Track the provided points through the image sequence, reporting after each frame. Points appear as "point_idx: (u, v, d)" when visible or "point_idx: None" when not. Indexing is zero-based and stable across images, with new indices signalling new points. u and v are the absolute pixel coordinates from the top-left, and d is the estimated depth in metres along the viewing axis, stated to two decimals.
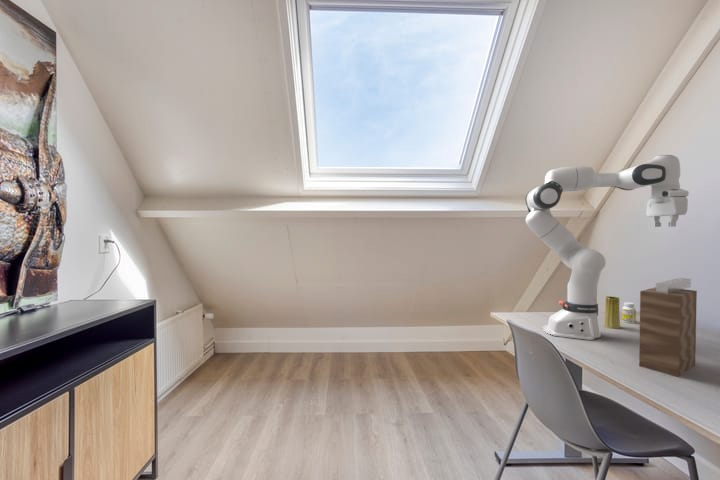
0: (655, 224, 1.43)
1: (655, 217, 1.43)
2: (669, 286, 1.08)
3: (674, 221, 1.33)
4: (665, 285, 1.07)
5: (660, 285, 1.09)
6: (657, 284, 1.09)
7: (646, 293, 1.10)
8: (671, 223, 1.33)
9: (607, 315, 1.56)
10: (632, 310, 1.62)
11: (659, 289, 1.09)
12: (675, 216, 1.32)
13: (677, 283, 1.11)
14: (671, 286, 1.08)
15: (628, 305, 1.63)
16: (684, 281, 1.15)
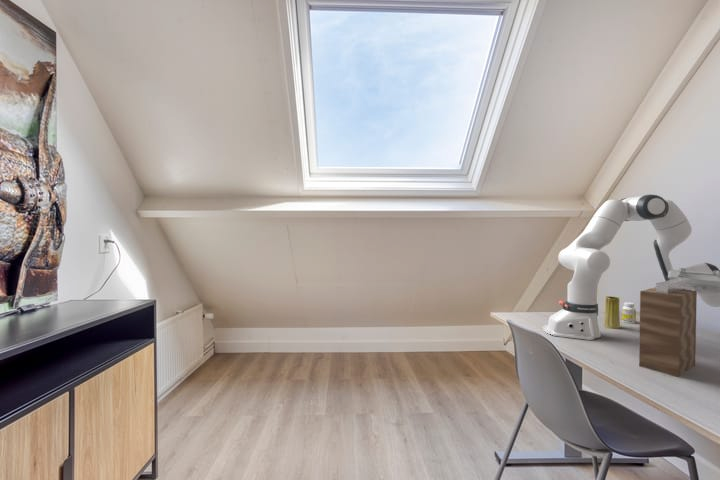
0: None
1: None
2: (669, 286, 1.08)
3: None
4: (665, 285, 1.07)
5: (660, 285, 1.09)
6: (657, 284, 1.09)
7: (646, 293, 1.10)
8: (719, 272, 1.23)
9: (607, 315, 1.56)
10: (632, 310, 1.62)
11: (659, 289, 1.09)
12: None
13: (677, 283, 1.11)
14: (671, 286, 1.08)
15: (628, 305, 1.63)
16: (684, 281, 1.15)
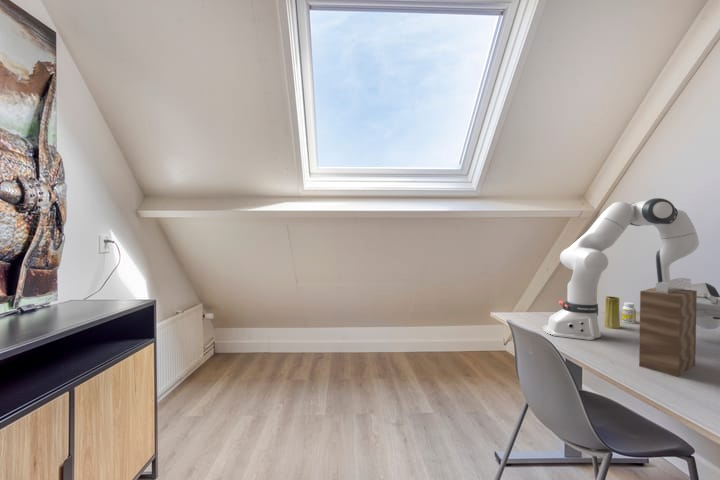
0: None
1: None
2: (669, 286, 1.08)
3: (711, 298, 1.18)
4: (665, 285, 1.07)
5: (660, 285, 1.09)
6: (657, 284, 1.09)
7: (646, 293, 1.10)
8: (710, 295, 1.18)
9: (607, 315, 1.56)
10: (632, 310, 1.62)
11: (659, 289, 1.09)
12: (716, 300, 1.18)
13: (677, 283, 1.11)
14: (671, 286, 1.08)
15: (628, 305, 1.63)
16: (684, 281, 1.15)
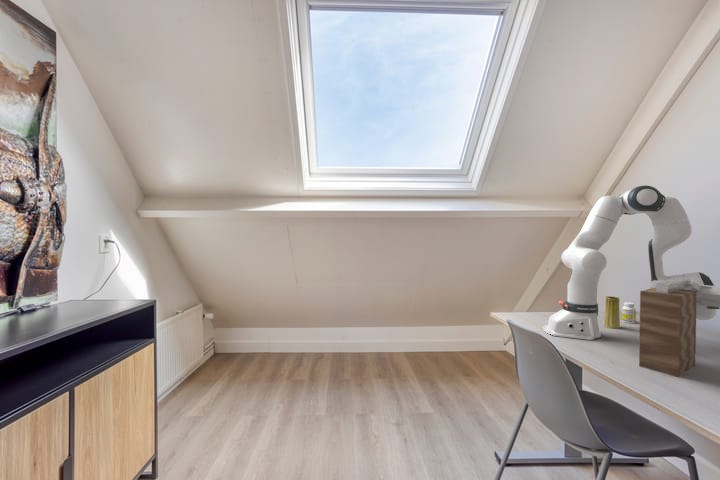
0: None
1: None
2: (669, 286, 1.08)
3: (695, 286, 1.16)
4: (665, 285, 1.07)
5: (660, 285, 1.09)
6: (657, 284, 1.09)
7: (646, 293, 1.10)
8: (693, 282, 1.16)
9: (607, 315, 1.56)
10: (632, 310, 1.62)
11: (659, 289, 1.09)
12: (700, 288, 1.16)
13: (677, 283, 1.11)
14: (671, 286, 1.08)
15: (628, 305, 1.63)
16: (684, 281, 1.15)
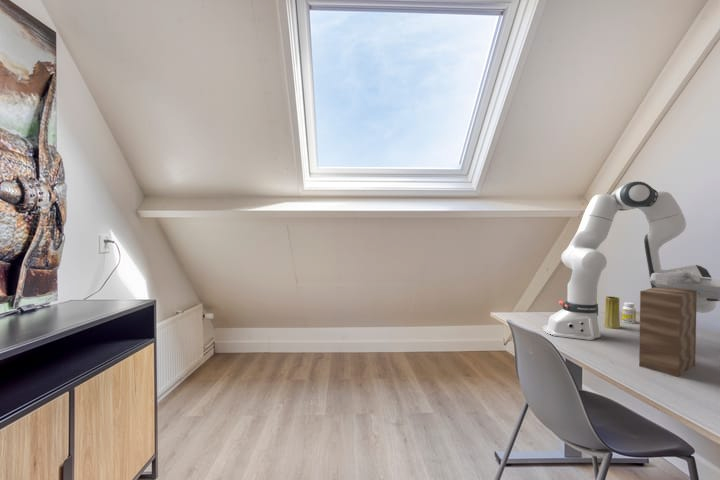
0: None
1: None
2: (669, 278, 1.08)
3: (694, 277, 1.15)
4: (665, 276, 1.07)
5: (660, 276, 1.08)
6: (657, 275, 1.09)
7: (646, 293, 1.10)
8: (693, 274, 1.15)
9: (607, 315, 1.56)
10: (632, 310, 1.62)
11: (658, 280, 1.08)
12: (699, 280, 1.16)
13: (677, 275, 1.11)
14: (670, 277, 1.08)
15: (628, 305, 1.63)
16: (684, 273, 1.15)
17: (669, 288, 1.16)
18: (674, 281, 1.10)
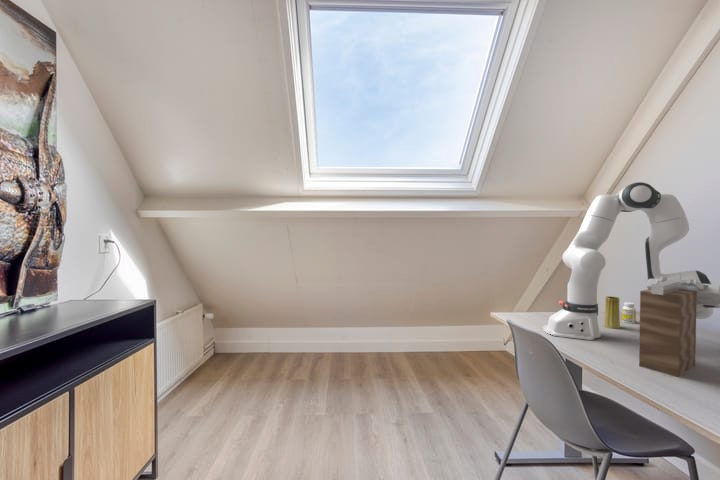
0: None
1: None
2: (665, 288, 1.06)
3: (698, 285, 1.12)
4: (661, 286, 1.05)
5: (656, 286, 1.06)
6: (653, 285, 1.07)
7: (646, 293, 1.10)
8: (696, 281, 1.12)
9: (607, 315, 1.56)
10: (632, 310, 1.62)
11: (655, 290, 1.07)
12: (703, 287, 1.12)
13: (673, 284, 1.09)
14: (666, 287, 1.06)
15: (628, 305, 1.63)
16: (680, 282, 1.13)
17: None
18: (670, 291, 1.08)
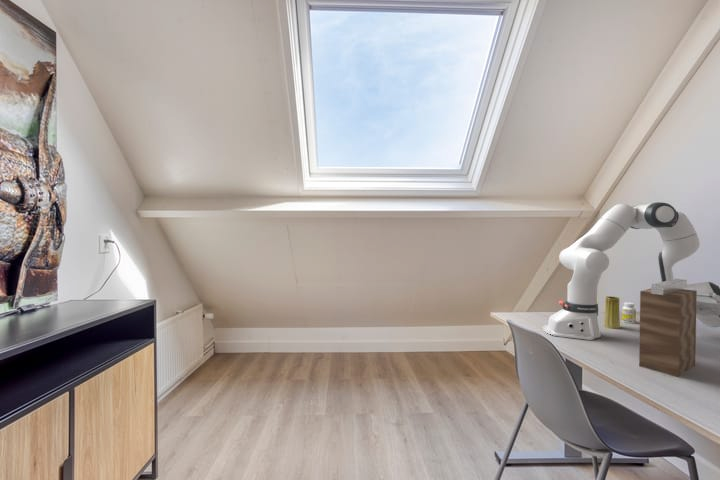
0: None
1: None
2: (665, 288, 1.06)
3: (717, 297, 1.20)
4: (661, 286, 1.05)
5: (656, 286, 1.06)
6: (653, 285, 1.07)
7: (646, 293, 1.10)
8: (715, 294, 1.21)
9: (607, 315, 1.56)
10: (632, 310, 1.62)
11: (655, 290, 1.07)
12: None
13: (673, 284, 1.09)
14: (666, 287, 1.06)
15: (628, 305, 1.63)
16: (680, 282, 1.13)
17: None
18: (670, 291, 1.08)
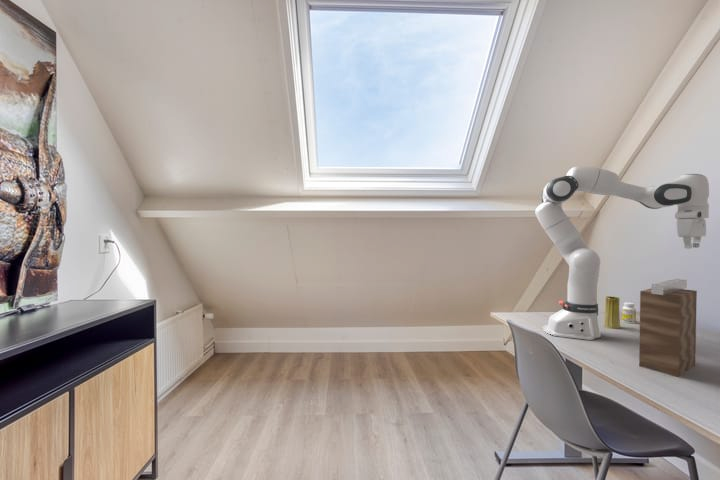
0: (693, 245, 1.36)
1: (694, 237, 1.36)
2: (665, 288, 1.06)
3: (687, 243, 1.30)
4: (661, 286, 1.05)
5: (656, 286, 1.06)
6: (653, 285, 1.07)
7: (646, 293, 1.10)
8: (685, 245, 1.31)
9: (607, 315, 1.56)
10: (632, 310, 1.62)
11: (655, 290, 1.07)
12: (686, 238, 1.30)
13: (673, 284, 1.09)
14: (666, 287, 1.06)
15: (628, 305, 1.63)
16: (680, 282, 1.13)
17: None
18: (670, 291, 1.08)
